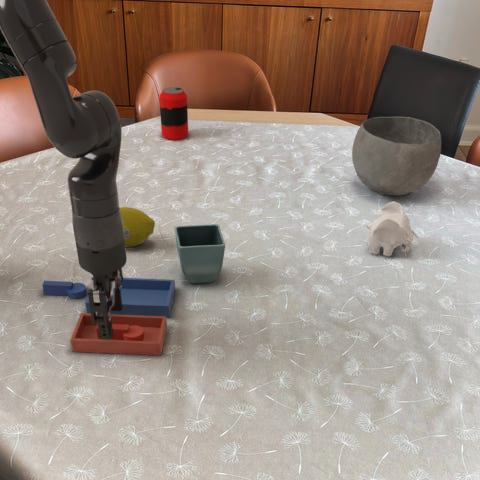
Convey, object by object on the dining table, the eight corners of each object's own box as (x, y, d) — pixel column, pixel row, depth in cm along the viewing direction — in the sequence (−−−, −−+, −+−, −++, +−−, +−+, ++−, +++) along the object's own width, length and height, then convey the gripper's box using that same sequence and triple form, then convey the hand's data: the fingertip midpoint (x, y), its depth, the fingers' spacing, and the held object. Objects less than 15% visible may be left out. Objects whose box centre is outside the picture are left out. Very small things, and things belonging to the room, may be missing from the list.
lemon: (99, 249, 137) (94, 213, 131) (114, 233, 142) (110, 197, 137) (147, 257, 135) (144, 221, 129) (160, 240, 140) (158, 204, 135)
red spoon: (96, 342, 112) (94, 331, 111) (100, 330, 115) (98, 319, 113) (142, 344, 112) (141, 333, 110) (145, 332, 115) (144, 321, 113)
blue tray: (86, 313, 119) (84, 302, 117) (97, 287, 126) (95, 276, 124) (169, 317, 119) (168, 306, 117) (175, 290, 125) (174, 279, 124)
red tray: (72, 351, 111) (70, 340, 109) (82, 324, 117) (80, 312, 115) (161, 355, 110) (160, 343, 109) (167, 327, 116) (166, 316, 115)
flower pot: (219, 264, 133) (218, 223, 127) (225, 287, 127) (225, 244, 121) (176, 267, 132) (173, 225, 126) (180, 290, 126) (178, 247, 119)
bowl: (376, 214, 151) (387, 148, 141) (332, 180, 165) (339, 118, 154) (448, 200, 158) (463, 136, 147) (399, 168, 171) (411, 108, 161)
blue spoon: (42, 297, 123) (40, 287, 121) (47, 287, 125) (45, 277, 124) (84, 299, 123) (83, 289, 121) (88, 289, 125) (87, 279, 124)
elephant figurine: (414, 265, 134) (423, 225, 128) (356, 256, 137) (362, 216, 131) (418, 244, 141) (427, 205, 135) (363, 236, 143) (370, 196, 137)
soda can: (193, 136, 186) (192, 90, 177) (174, 142, 182) (171, 96, 173) (175, 129, 189) (173, 84, 181) (156, 135, 185) (153, 90, 177)
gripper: (85, 214, 105) (98, 300, 117) (64, 257, 95) (80, 347, 106) (131, 216, 105) (139, 302, 116) (115, 259, 95) (126, 349, 106)
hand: (111, 323), depth 111 cm, fingers open, 8 cm apart
